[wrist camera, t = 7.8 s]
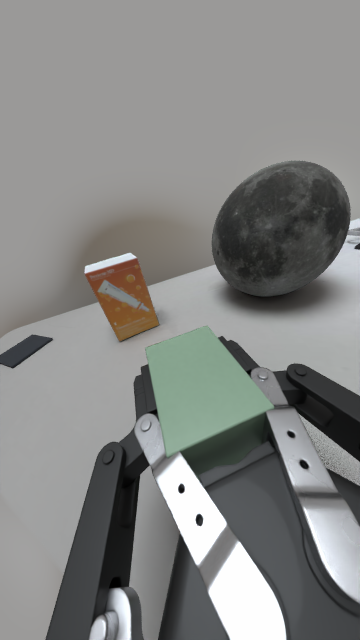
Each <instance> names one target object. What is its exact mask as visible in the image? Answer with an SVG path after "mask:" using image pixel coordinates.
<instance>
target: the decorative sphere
mask: <svg viewBox="0 0 360 640" xmlns="http://www.w3.org/2000/svg"><path fill="white" fill-rule="evenodd" d="M349 225H350V203H349V198H348V195H347V192H346V191H345V188H344V186H343V185H342V183H341V182H340V180H339V179H338V178H337V177H336V176H335V175H334V174H333V173H332V172H330V171H329V170H328V169H326V168H324V167H322V166H320V165H318V164H315V163H311V162H306V161H287V162H281V163H277V164H273V165H271V166H268V167H266V168H264V169H261V170H259V171H258V172H256V173H254V174H253V175H251V176H250V177H248V178H247V179H246V180H244V181H243V182H242V183H241V184H240V185H239V186H238V187H237V188H236V189H235V190H234V191H233V192H232V193H231V194H230V196H229V197H228V198H227V200H226V201H225V203H224V204H223V206H222V208H221V210H220V212H219V214H218V216H217V219H216V222H215V225H214V229H213V234H212V252H213V257H214V261H215V264H216V266H217V269H218V270H219V272H220V274H221V275H222V277H223V278H224V279H225V280H226V281H227V282H228V283H229V284H230V285H232V286H233V287H234V288H236V289H238V290H240V291H242V292H244V293H247V294H250V295H255V296H277V295H282V294H286V293H289V292H292V291H295V290H297V289H299V288H301V287H303V286H305V285H307V284H308V283H310V282H311V281H313V280H314V279H316V278H317V277H318V276H319V275H320V274H322V273H323V272H324V271H325V270H326V269H327V268H328V266H329V265H330V264H331V263H332V262H333V261H334V259H335V258H336V256H337V255H338V253H339V252H340V250H341V248H342V246H343V244H344V242H345V239H346V236H347V233H348V230H349Z"/></svg>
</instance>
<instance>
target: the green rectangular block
mask: <svg viewBox="0 0 360 640" xmlns="http://www.w3.org/2000/svg"><path fill="white" fill-rule="evenodd" d="M145 350H146V355H147V360H148V365H149V370H150V375H151V381H152V386H153V391H154V396H155V401H156V406H157V411H158V417H159V422H160V427H161V432H162V437H163V442H164V448H165V453H166V456H167V458H168V457H170V456H172V455H173V454H175V453H176V452H178V451H180V453H181V454H182V456H183V457H184V459H185V460H186V462H187V463H188V465H189V466H190V468H191V469H192V471H193V472H194V474H195V475H196V477H197V478H198V480H199V481H200V477H199V475H200V474H202V473H204V472H206V471H208V470H210V469H212V468H214V467H216V466H222V465H230V464H237V463H239V462H240V461H241V460H242V459H243V458H244V457H245V456H246V455H247V453H248V452H249V451H250V450H251V449H253V448H255V447H257V446H259V445H261V443H262V436H263V428H264V421H265V413H266V411H267V410H270V409H274V408H275V407H274V405H273V404H272V403H271V402H270V400H269V399H268V398H267V397H266V396H265V394H264V393H263V392H262V391H261V390H260V388H259V387H258V386H257V385H256V384H255V382H254V381H253V380H252V379H251V378H250V376H249V375H248V374H247V373H246V372H245V370H244V369H243V368H242V367H241V366H240V364H239V363H238V362H237V361H236V360H235V358H234V357H233V356H232V355H231V354H230V352H229V351H228V350H227V349H226V348H225V346H224V345H223V344H222V343H221V342H220V340H219V339H218V338H217V337H216V336H215V334H214V333H213V332H212V331H211V329H210V328H209V327H208V326H204V327H201V328H198V329H196V330H193V331H190V332H188V333H185V334H182V335H179V336H177V337H174V338H171V339H168V340H166V341H163V342H160V343H157V344H155V345H152V346H149V347H146V349H145Z"/></svg>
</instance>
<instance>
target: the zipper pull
mask: <svg viewBox="0 0 360 640" xmlns="http://www.w3.org/2000/svg"><path fill="white" fill-rule="evenodd" d="M347 235H354V236H360V228H356V229H352V230H348V233H347Z"/></svg>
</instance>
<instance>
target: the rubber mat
mask: <svg viewBox="0 0 360 640" xmlns="http://www.w3.org/2000/svg"><path fill="white" fill-rule="evenodd" d="M52 340H53V339H52V338H49V337H43V336H38V335H31V336H29V337H28V338H26V339H25V340H23V341H21V342H20V343H18V344H17V345H15V346H14V347H12V348H10V349H9V350H7V351H6V352H4V353H3V354H1V355H0V363H1V364H3V365H6V366H9V367H11V368H14V367H15V366H17V365H18V364H20V363H21V362H22V361H24V360H25V359H26V358H28V357H29V356H31V355H32V354H33V353H35V352H36V351H38V350H39V349H40V348H42V347H43V346H45V345H46V344H47V343H49V342H50V341H52Z"/></svg>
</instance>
